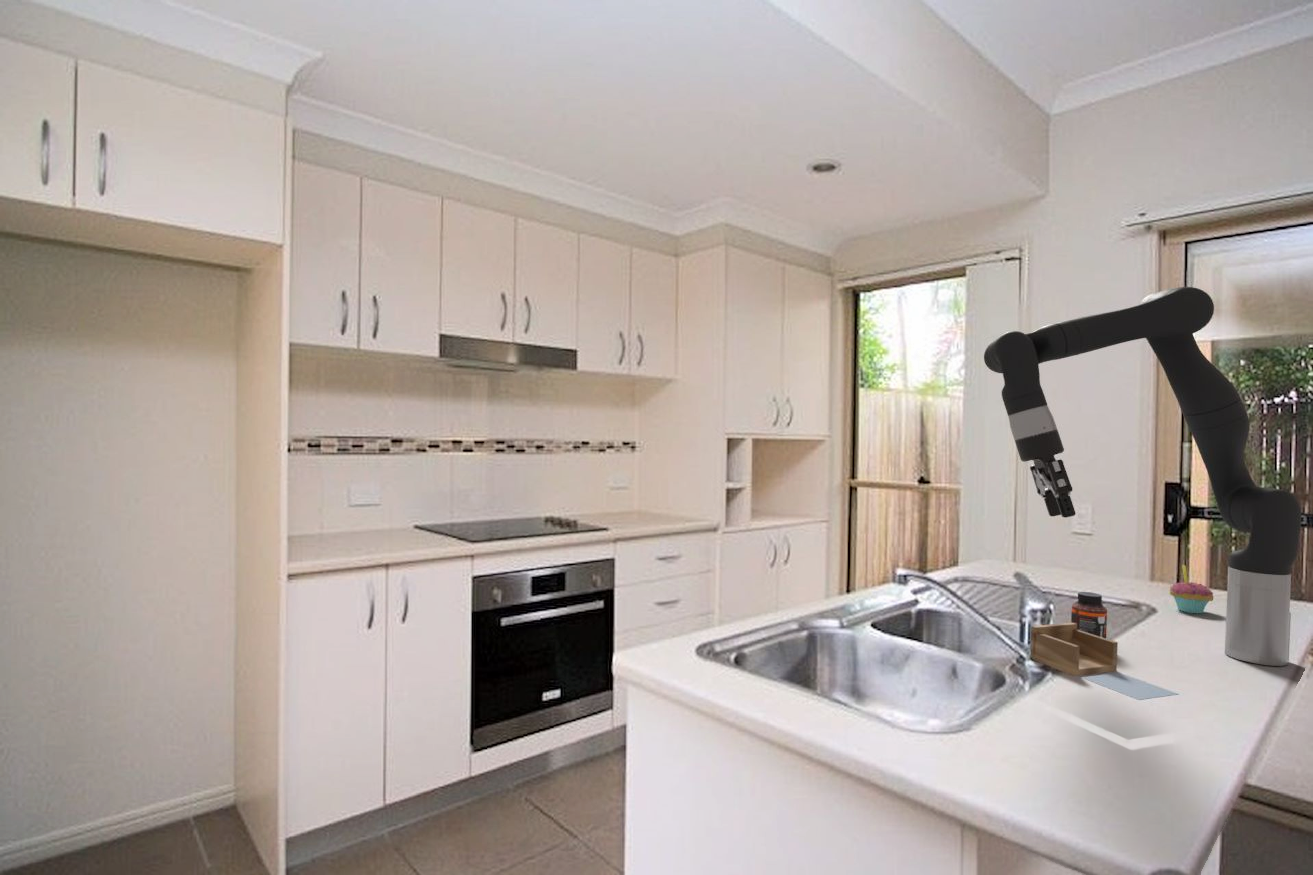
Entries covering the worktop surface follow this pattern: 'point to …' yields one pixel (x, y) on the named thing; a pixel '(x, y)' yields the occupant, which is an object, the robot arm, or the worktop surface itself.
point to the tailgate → (1129, 686)
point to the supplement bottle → (1090, 614)
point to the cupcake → (1190, 595)
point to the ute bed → (1072, 649)
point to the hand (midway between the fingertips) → (1062, 516)
